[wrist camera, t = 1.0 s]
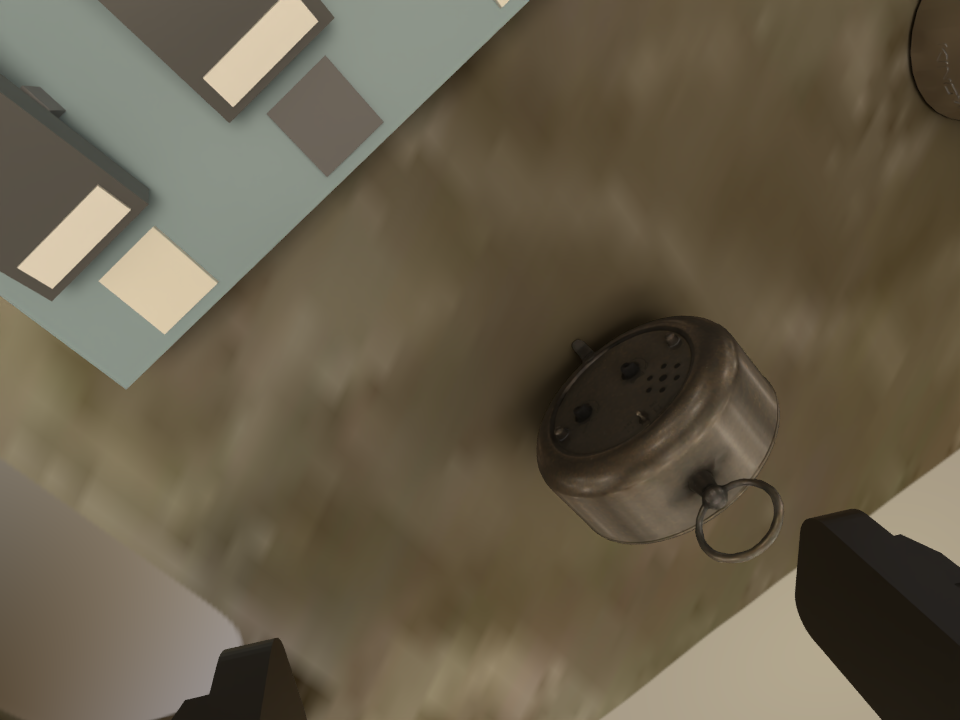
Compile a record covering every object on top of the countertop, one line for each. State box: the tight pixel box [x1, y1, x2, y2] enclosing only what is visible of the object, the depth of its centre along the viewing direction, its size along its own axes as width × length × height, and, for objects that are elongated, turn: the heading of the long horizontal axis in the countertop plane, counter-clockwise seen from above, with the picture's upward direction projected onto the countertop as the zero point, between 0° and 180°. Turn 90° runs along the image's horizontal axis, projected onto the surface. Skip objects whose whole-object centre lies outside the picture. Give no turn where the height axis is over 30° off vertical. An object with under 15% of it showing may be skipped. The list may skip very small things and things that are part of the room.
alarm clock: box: [537, 316, 784, 563], centre depth 29 cm, size 11×5×16 cm, turn 131°
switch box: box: [0, 0, 529, 389], centre depth 24 cm, size 27×14×7 cm, turn 131°
